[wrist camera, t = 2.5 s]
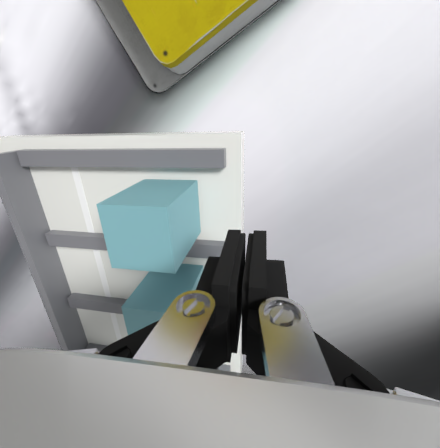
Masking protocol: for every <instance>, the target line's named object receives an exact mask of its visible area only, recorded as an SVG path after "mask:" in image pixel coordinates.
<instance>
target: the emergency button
mask: <svg viewBox="0 0 440 448" xmlns="http://www.w3.org/2000/svg"><path fill="white" fill-rule="evenodd" d="M280 1H281V0H96V2H97V4H98V5H99V7H100V9H101V10H102V12H103V14H104V15H105V17H106V19H107V20H108V22H109V23H110V25H111V27H112V28H113V30H114V32H115V33H116V35H117V37H118V38H119V40H120V42H121V43H122V45H123V47H124V48H125V50H126V52H127V53H128V55H129V57H130V58H131V60H132V62H133V63H134V65H135V67H136V68H137V70H138V72H139V73H140V75H141V77H142V78H143V80H144V82H145V83H146V85H147V86H148V87H149V88H150V89H151V90H152V91H155V92H160V93H161V92H163V91H165V90H168V89H169V88H170V87H171V86H173V85H174V84H175V83H176V82H178V81H179V80H180V79H182V78H183V77H184V76H185V75H187V74H188V73H189V72H190V71H192V70H193V69H194V68H196V67H197V66H198V65H199V64H201V63H202V62H203V61H205V60H206V59H207V58H208V57H210V56H211V55H212V54H213V53H215V52H216V51H217V50H219V49H220V48H221V47H222V46H224V45H225V44H226V43H228V42H229V41H230V40H231V39H233V38H234V37H235V36H236V35H238V34H239V33H240V32H242V31H243V30H244V29H245V28H247V27H248V26H249V25H250V24H252V23H253V22H254V21H256V20H257V19H258V18H259V17H261V16H262V15H263V14H265V13H266V12H267V11H268V10H270V9H271V8H272V7H273V6H275V5H276V4H277V3H279V2H280Z"/></svg>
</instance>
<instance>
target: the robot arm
mask: <svg viewBox="0 0 440 448" xmlns="http://www.w3.org/2000/svg"><path fill="white" fill-rule="evenodd" d="M241 316H242V354H245V355H246V363H247V365H248V366H249V367H250V368H251V369H252V370H253V371H254V372H255V373H256V375H253V374H246V373H238V372H231V371H223V370H219V368H218V367H220V366H221V365H222V364H224V363H225V362H229V363H230V362H231V354H232V353H237V350H238V341H239V333H240V324H241ZM0 448H440V401H439V400H435V399H432V398H429V397H426V396H423V395H420V394H417V393H413V392H410V391H407V390H404V389H401V388H398V387H395V388H394V391H393V390H390V389H387V388H386V387H385V386H384V385H383V384H382V383H381V382H380V381H379V380H378V379H377V378H376V377H375V376H373V375H372V374H370V373H369V372H368V371H366V370H365V369H364V368H362V367H361V366H360V365H358V364H357V363H356V362H354V361H353V360H352V359H350V358H349V357H347V356H346V355H345V354H343V353H342V352H341V351H339V350H338V349H337V348H335V347H334V346H333V345H331V344H330V343H329V342H327V341H326V340H324V339H323V338H322V337H320V336H319V335H318V334H316V333H315V332H314V331H313V329H312V327H311V325H310V322H309V320H308V317H307V315H306V312H305V311H304V309H303V307H302V306H301V305H299V304H298V303H297V302H295V301H293V300H291V299H288V291H287V283H286V274H285V266H284V261H279V260H266V231H254V234H249V237H248V245H247V252H246V260H245V233H241V230H230V229H228V232H227V236H226V239H225V242H224V245H223V249H222V252H221V255H220V257H213V256H209V257H208V259H207V262H206V264H205V267H204V269H203V272H202V275H201V277H200V280H199V282H198V285H197V288H196V290H192V291H187V292H184V293H182V294H180V295H179V296H177V297H176V298H175V299H174V300H173V302H172V303H171V305H170V306H169V307H168V309H167V310H166V312H165V313H164V315H163V316H162V317H161V319H160V320H158V321H156V322H154V323H152V324H150V325H148V326H146V327H144V328H142V329H140V330H138V331H136V332H134V333H132V334H130V335H128V336H126V337H124V338H122V339H120V340H118V341H116V342H114V343H112V344H110V345H108V346H107V347H105V348H104V349H103V350H101V351H100V352H98V350H97V348H93V349H82V350H70V351H63V350H53V349H39V348H4V349H0Z"/></svg>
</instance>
